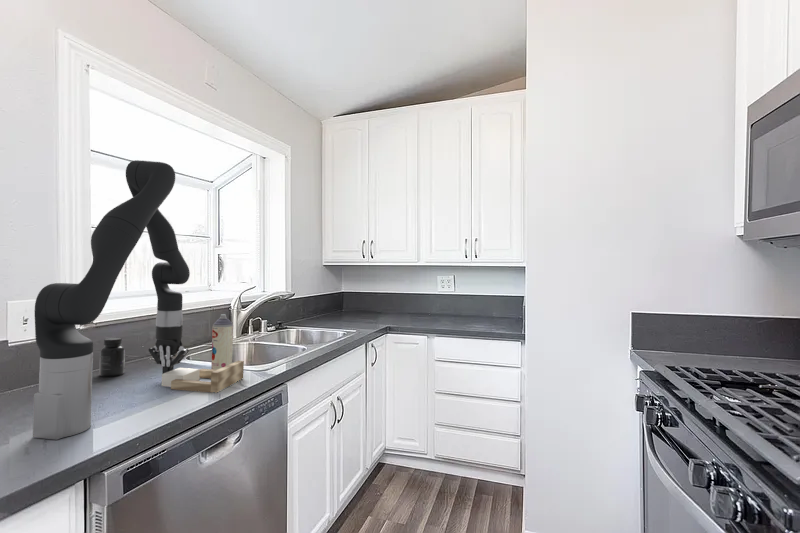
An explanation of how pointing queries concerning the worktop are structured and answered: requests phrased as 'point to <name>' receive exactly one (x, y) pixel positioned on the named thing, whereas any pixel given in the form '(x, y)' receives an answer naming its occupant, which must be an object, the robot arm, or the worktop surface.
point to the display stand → (212, 379)
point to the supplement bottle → (112, 358)
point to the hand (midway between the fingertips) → (167, 377)
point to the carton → (180, 375)
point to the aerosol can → (222, 342)
